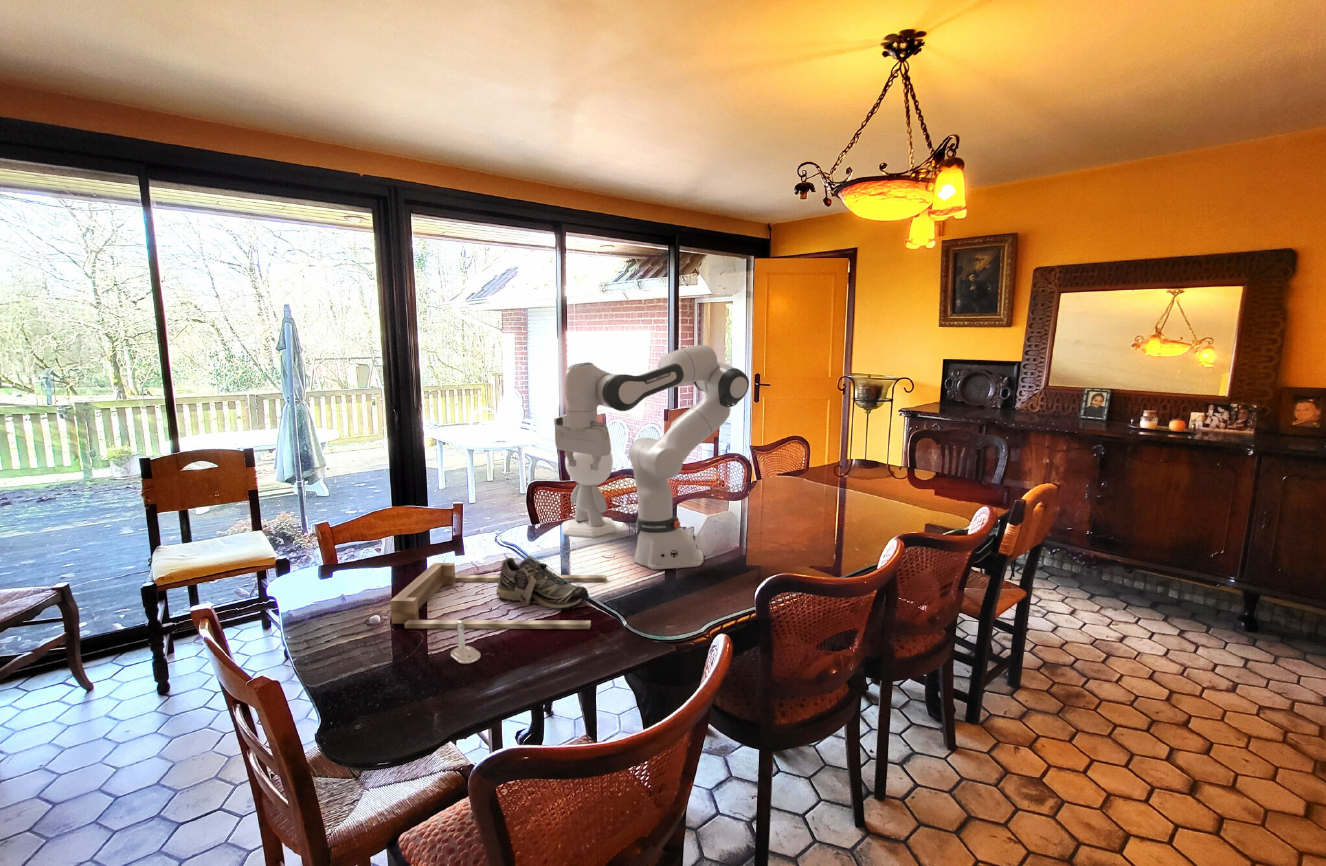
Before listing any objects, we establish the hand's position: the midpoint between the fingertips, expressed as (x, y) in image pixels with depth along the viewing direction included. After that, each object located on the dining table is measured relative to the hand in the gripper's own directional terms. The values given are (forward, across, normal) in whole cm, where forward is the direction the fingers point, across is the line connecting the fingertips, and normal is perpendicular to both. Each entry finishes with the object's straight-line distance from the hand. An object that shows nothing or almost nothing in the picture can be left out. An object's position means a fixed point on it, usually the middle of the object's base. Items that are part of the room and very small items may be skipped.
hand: (583, 468), depth 166 cm
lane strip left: (+34, -4, +33) cm, 48 cm away
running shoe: (+34, 0, +17) cm, 38 cm away
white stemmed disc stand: (+34, -10, +46) cm, 58 cm away
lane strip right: (+34, +14, +11) cm, 38 cm away
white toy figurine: (+34, +37, -34) cm, 61 cm away
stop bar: (+34, +24, +37) cm, 56 cm away
